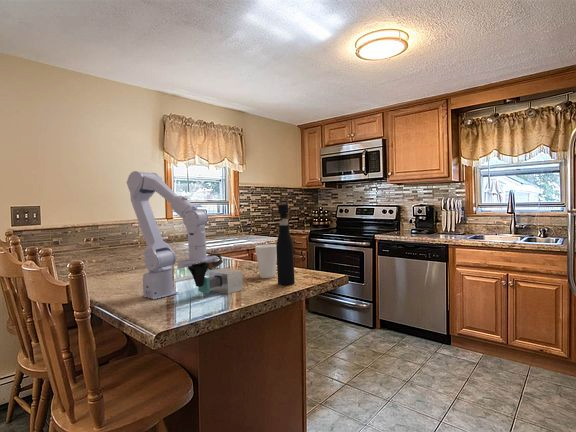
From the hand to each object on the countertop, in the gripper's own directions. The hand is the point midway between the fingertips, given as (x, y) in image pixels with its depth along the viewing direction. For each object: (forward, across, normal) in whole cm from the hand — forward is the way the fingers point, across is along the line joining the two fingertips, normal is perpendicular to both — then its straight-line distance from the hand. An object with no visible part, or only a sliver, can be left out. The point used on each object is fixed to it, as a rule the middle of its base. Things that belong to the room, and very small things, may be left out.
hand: (199, 286), depth 116 cm
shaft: (+2, +6, 0) cm, 7 cm away
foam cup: (+4, +36, +2) cm, 36 cm away
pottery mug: (+4, +36, +41) cm, 55 cm away
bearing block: (+4, +12, 0) cm, 12 cm away
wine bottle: (+4, +30, -13) cm, 33 cm away
